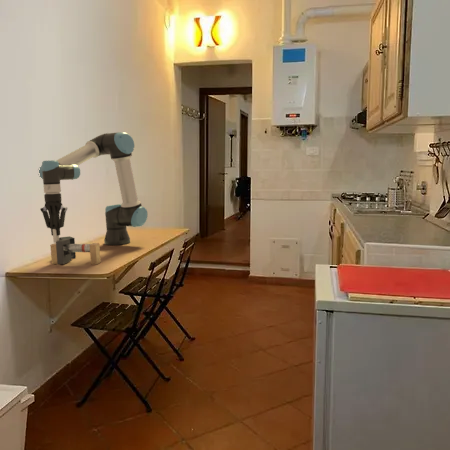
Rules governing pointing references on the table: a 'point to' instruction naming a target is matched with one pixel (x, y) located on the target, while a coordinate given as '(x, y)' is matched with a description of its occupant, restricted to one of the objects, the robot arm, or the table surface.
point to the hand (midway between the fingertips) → (56, 242)
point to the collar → (62, 251)
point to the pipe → (91, 248)
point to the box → (72, 241)
